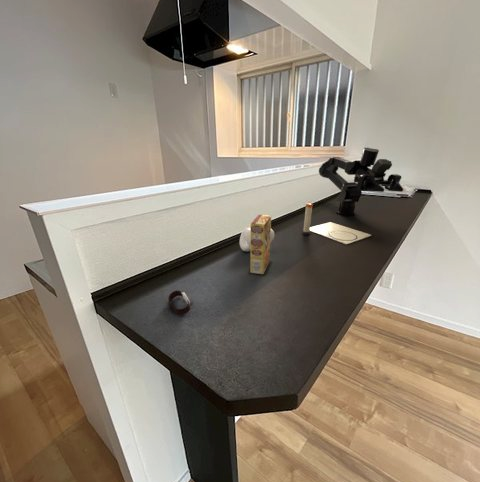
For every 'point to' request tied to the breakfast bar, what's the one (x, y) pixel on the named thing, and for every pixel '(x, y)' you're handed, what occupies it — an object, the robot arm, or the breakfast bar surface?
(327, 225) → the sketch pad
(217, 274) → the breakfast bar surface
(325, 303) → the breakfast bar surface
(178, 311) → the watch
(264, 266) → the candy box
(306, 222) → the marker
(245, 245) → the white rounded lump
